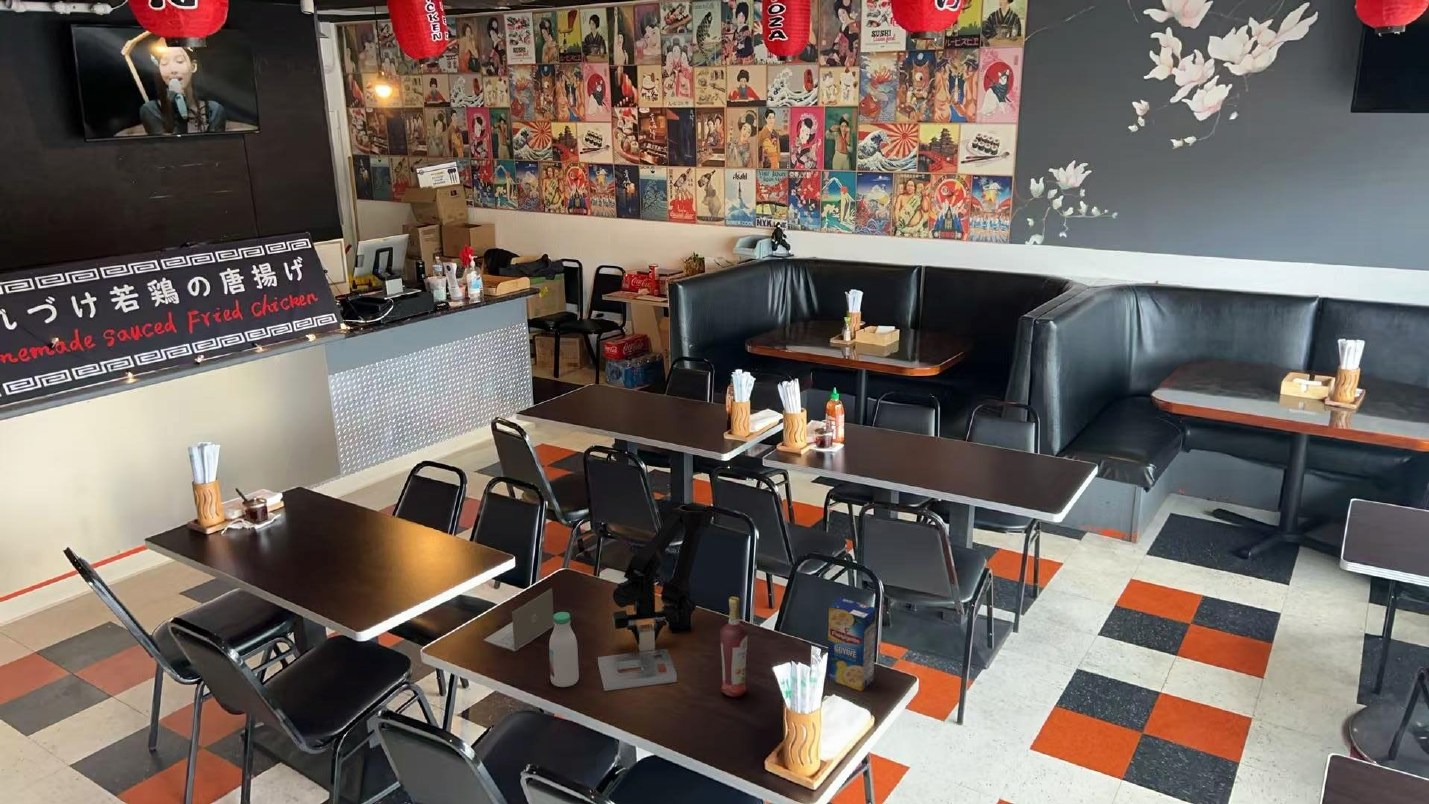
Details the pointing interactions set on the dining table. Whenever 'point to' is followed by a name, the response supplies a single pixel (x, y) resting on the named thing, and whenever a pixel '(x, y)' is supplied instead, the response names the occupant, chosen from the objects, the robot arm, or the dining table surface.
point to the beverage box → (851, 643)
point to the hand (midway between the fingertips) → (646, 642)
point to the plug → (646, 637)
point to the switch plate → (652, 671)
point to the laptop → (526, 623)
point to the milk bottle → (563, 652)
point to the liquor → (733, 652)
